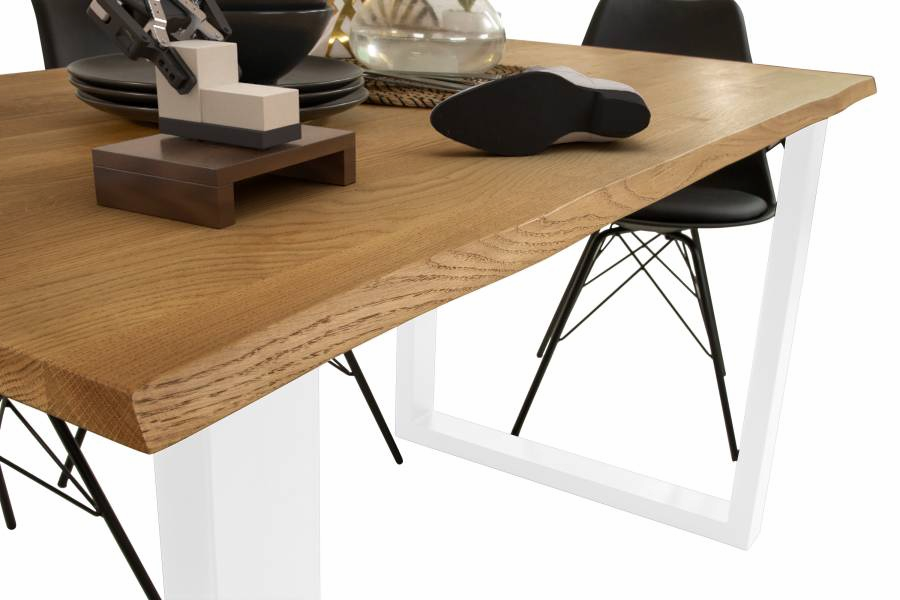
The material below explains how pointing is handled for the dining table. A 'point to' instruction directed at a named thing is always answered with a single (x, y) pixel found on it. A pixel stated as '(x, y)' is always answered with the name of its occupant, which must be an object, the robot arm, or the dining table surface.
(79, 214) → the dining table surface
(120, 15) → the robot arm
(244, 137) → the trainer
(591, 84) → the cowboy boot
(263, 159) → the shoe shelf
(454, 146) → the dining table surface
